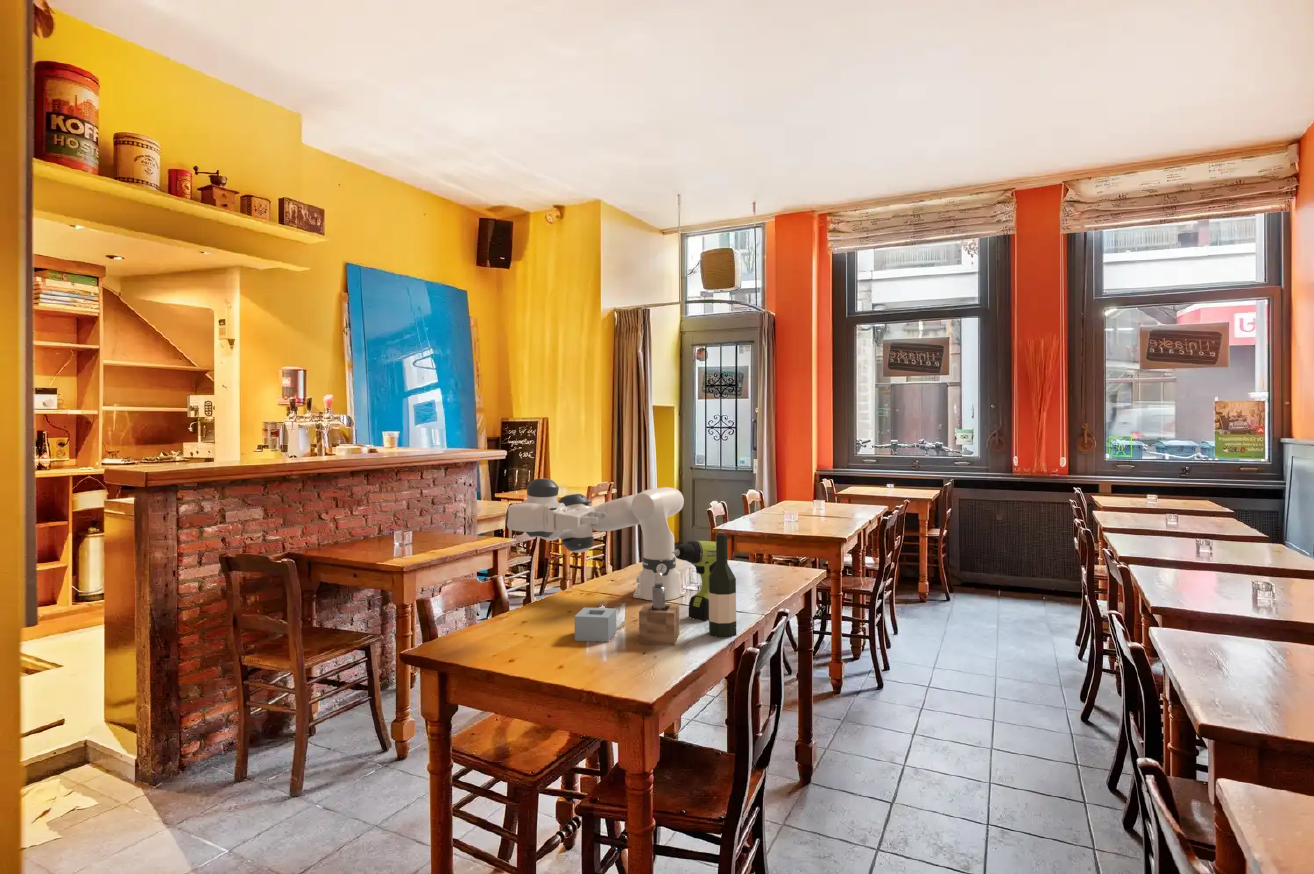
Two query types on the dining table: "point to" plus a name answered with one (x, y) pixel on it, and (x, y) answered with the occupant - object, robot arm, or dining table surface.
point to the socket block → (595, 624)
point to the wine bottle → (722, 593)
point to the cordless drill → (704, 561)
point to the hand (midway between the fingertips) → (601, 517)
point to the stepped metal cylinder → (658, 592)
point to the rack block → (659, 624)
